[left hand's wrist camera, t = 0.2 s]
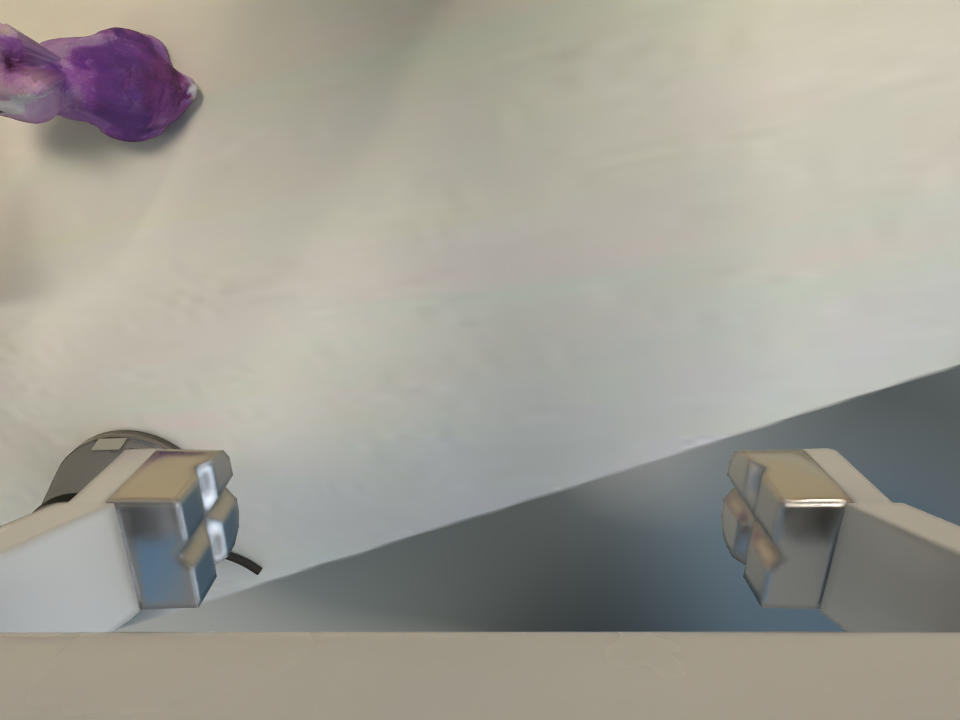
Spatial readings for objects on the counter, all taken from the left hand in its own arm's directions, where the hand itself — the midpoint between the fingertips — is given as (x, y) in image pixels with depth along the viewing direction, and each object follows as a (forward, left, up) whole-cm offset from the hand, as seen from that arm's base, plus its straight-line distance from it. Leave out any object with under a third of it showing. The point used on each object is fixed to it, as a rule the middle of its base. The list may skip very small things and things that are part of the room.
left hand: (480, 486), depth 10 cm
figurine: (-8, -29, -48) cm, 57 cm away
